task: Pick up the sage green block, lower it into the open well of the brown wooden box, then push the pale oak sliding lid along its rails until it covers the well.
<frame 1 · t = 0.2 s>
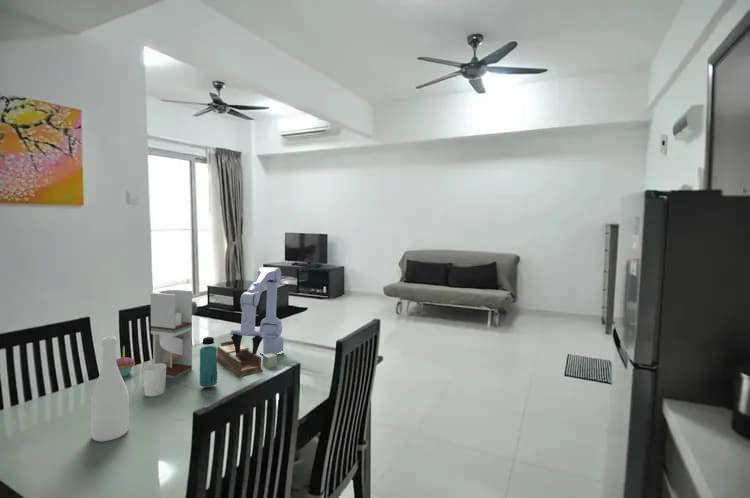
hand: (246, 353, 164), 11 cm above the table, tool pointing down, fingers open, 7 cm apart
cupcake: (123, 375, 164), on the table
block: (269, 366, 179), on the table
wine bottle: (110, 434, 119), on the table
beverage bottle: (208, 388, 154), on the table
brown wooden box: (244, 369, 173), on the table
lid: (233, 346, 181), point 8 cm above the table, slide at 12.0 cm
white tiered shelf: (172, 372, 168), on the table
white cup: (154, 393, 148), on the table
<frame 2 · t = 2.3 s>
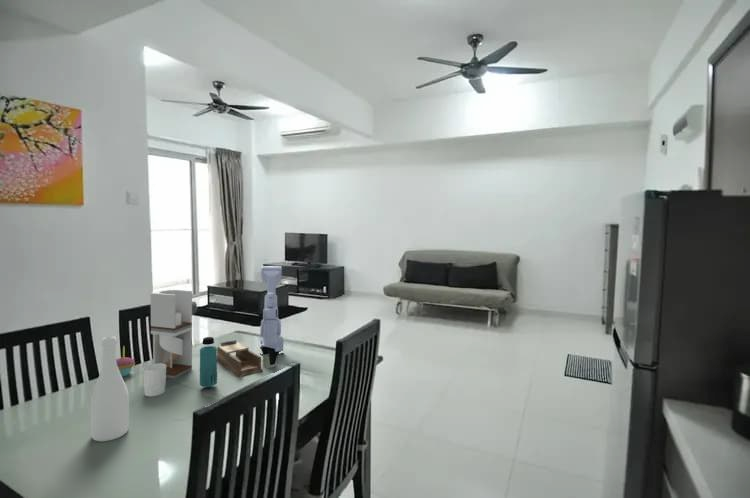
hand: (269, 362, 179), 1 cm above the table, tool pointing down, fingers closed on block, 4 cm apart
block: (269, 365, 179), on the table, touching gripper
everything else where it was.
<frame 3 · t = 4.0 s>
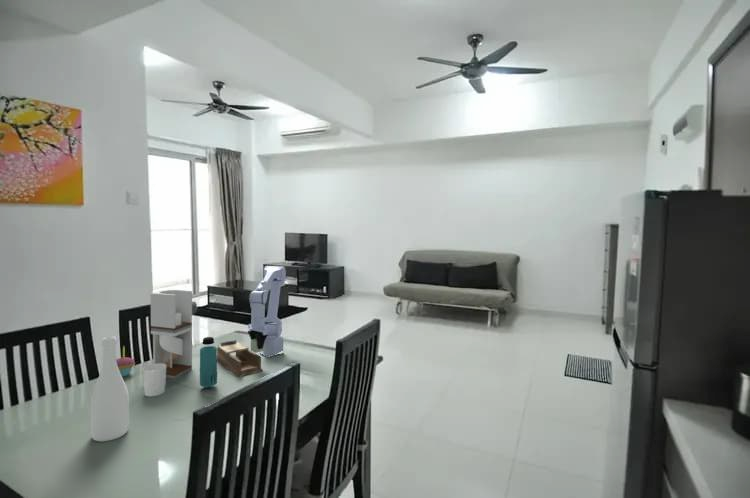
hand: (257, 347, 175), 9 cm above the table, tool pointing down, fingers closed on block, 4 cm apart
block: (257, 350, 176), point 8 cm above the table, touching gripper
everything else where it was.
when the fingers open (3 cm above the table, at t = 5.9 s): block drops 1 cm, resting on brown wooden box.
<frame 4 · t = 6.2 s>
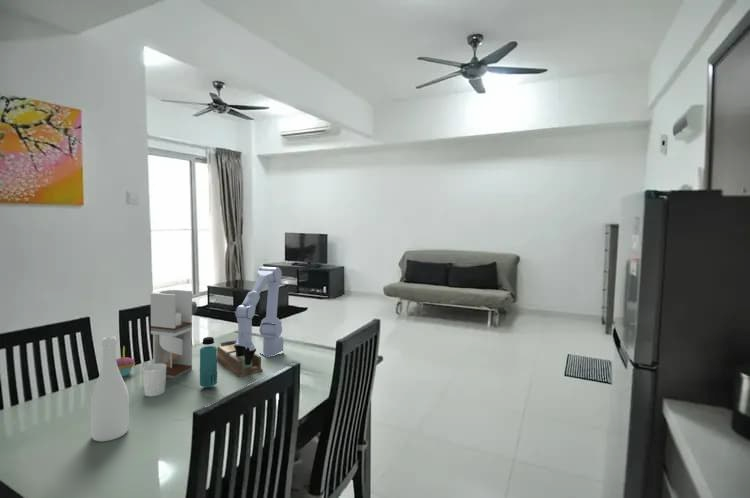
hand: (244, 362, 173), 3 cm above the table, tool pointing down, fingers open, 6 cm apart
block: (244, 368, 173), point 1 cm above the table, touching brown wooden box
everything else where it was.
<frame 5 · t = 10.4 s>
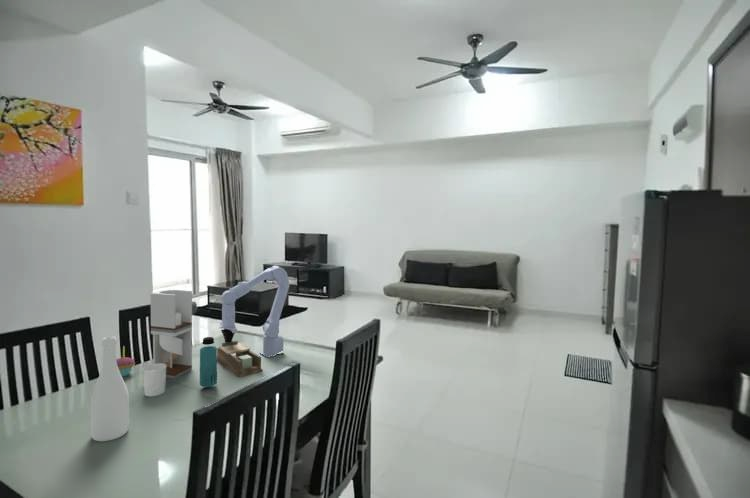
hand: (228, 344, 185), 7 cm above the table, tool pointing down, fingers closed
lid: (234, 346, 180), point 8 cm above the table, slide at 10.7 cm, touching gripper
everything else where it was.
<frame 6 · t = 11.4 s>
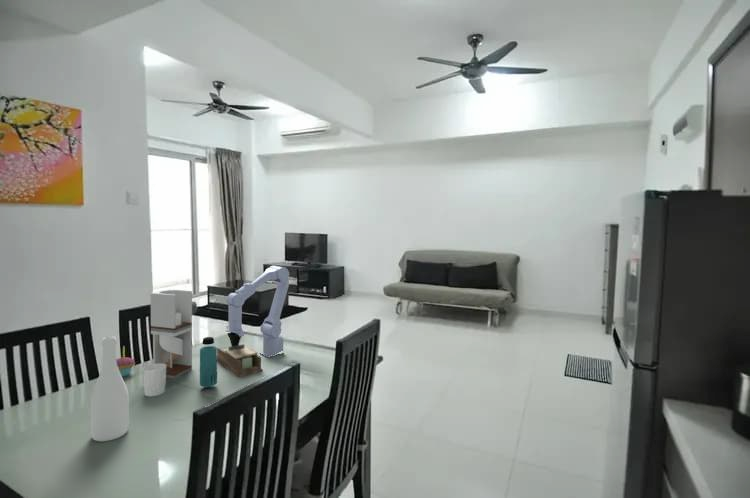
hand: (234, 348, 180), 7 cm above the table, tool pointing down, fingers closed
lid: (241, 350, 175), point 8 cm above the table, slide at 3.5 cm, touching gripper
everything else where it was.
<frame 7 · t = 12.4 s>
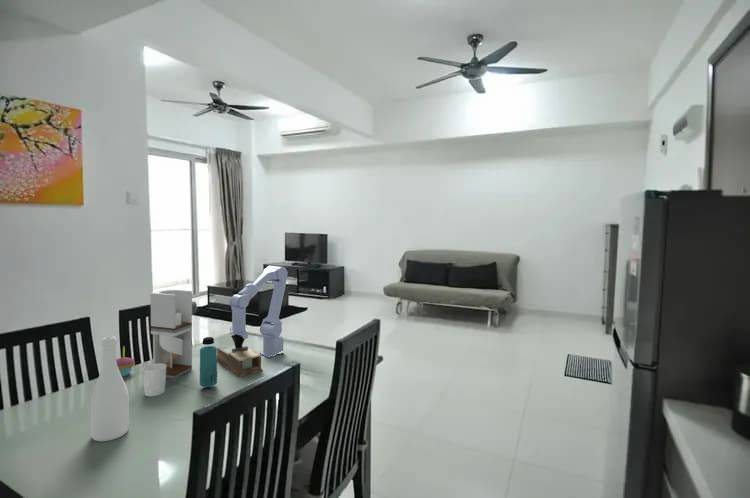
hand: (238, 350, 177), 7 cm above the table, tool pointing down, fingers closed
lid: (244, 352, 173), point 8 cm above the table, slide at -0.1 cm, touching gripper
everything else where it was.
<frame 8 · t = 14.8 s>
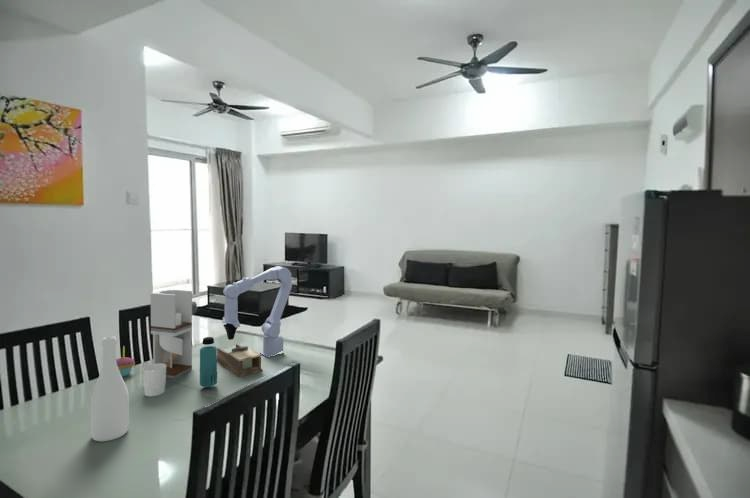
hand: (230, 339, 183), 10 cm above the table, tool pointing down, fingers closed
lid: (244, 352, 173), point 8 cm above the table, slide at 0.0 cm
everything else where it was.
at the end: block 0.1 cm off-centre on the brown wooden box, point 0.8 cm above the brown wooden box's base; block tilted 0°; lid slide at 0.0 cm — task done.
